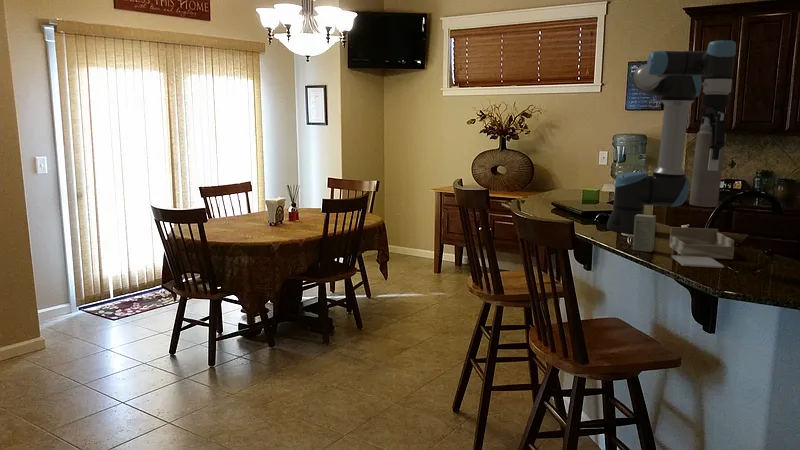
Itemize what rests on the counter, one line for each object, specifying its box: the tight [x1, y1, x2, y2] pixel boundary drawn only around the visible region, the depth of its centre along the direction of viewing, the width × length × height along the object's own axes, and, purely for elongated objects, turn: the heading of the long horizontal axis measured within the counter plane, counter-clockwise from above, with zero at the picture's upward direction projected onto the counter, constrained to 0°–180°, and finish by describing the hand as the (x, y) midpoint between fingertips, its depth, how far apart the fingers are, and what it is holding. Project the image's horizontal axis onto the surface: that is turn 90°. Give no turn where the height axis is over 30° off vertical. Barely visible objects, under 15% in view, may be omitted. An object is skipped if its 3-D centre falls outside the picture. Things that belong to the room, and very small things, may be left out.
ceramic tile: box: [670, 254, 725, 269], centre depth 192 cm, size 12×12×1 cm
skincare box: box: [632, 214, 657, 253], centre depth 206 cm, size 6×4×12 cm
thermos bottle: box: [688, 114, 727, 208], centre depth 186 cm, size 8×8×28 cm
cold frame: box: [668, 226, 736, 260], centre depth 205 cm, size 16×16×7 cm
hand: (707, 169), depth 186 cm, fingers closed on thermos bottle, 8 cm apart
